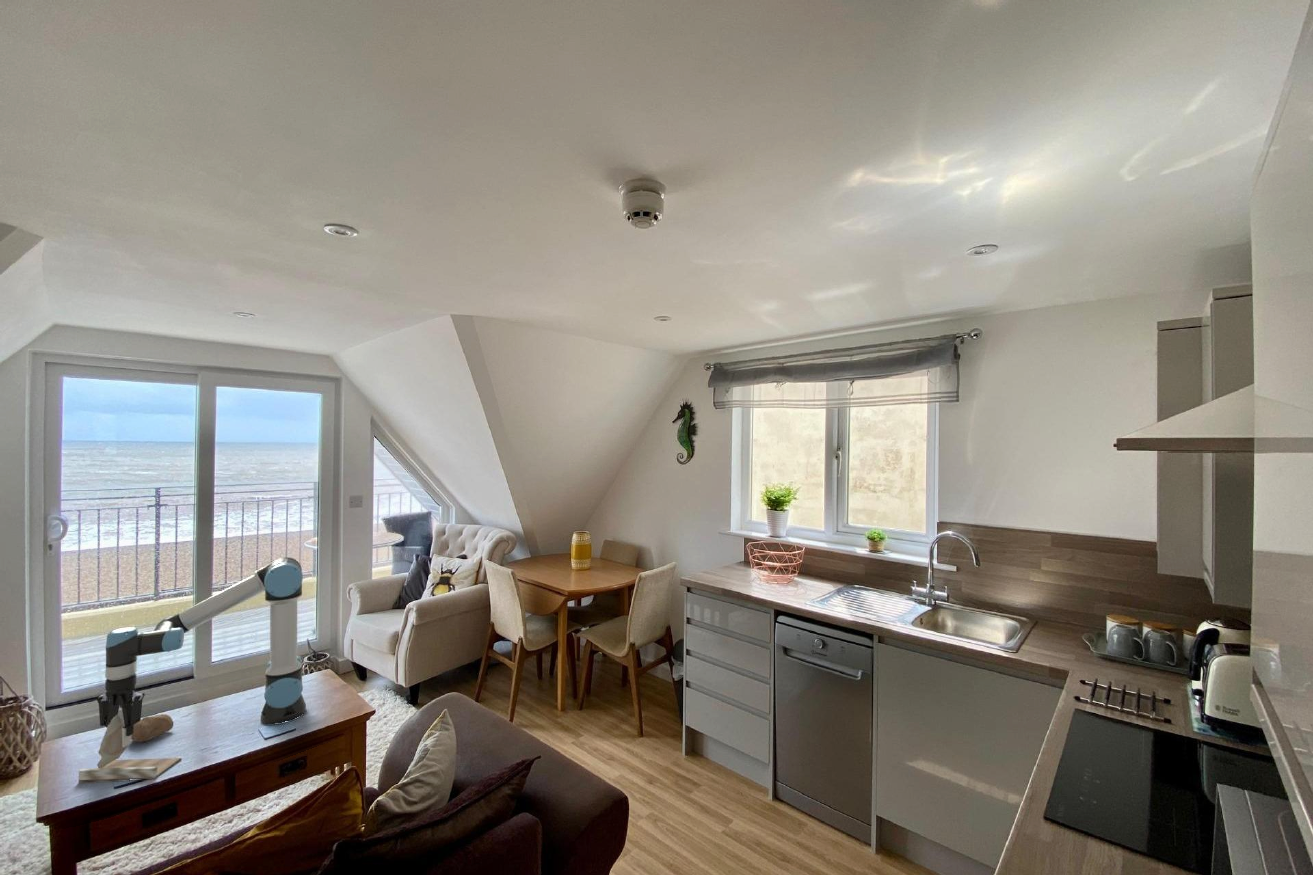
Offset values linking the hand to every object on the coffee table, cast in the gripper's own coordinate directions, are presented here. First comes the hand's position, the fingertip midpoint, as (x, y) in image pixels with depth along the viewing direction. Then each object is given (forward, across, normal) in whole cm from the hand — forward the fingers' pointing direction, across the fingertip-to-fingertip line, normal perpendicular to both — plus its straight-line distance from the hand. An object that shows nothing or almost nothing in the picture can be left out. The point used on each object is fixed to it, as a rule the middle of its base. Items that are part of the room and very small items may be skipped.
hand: (120, 745), depth 183 cm
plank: (+9, -5, +2) cm, 10 cm away
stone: (+9, +10, -21) cm, 25 cm away
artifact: (+5, 0, +2) cm, 5 cm away
